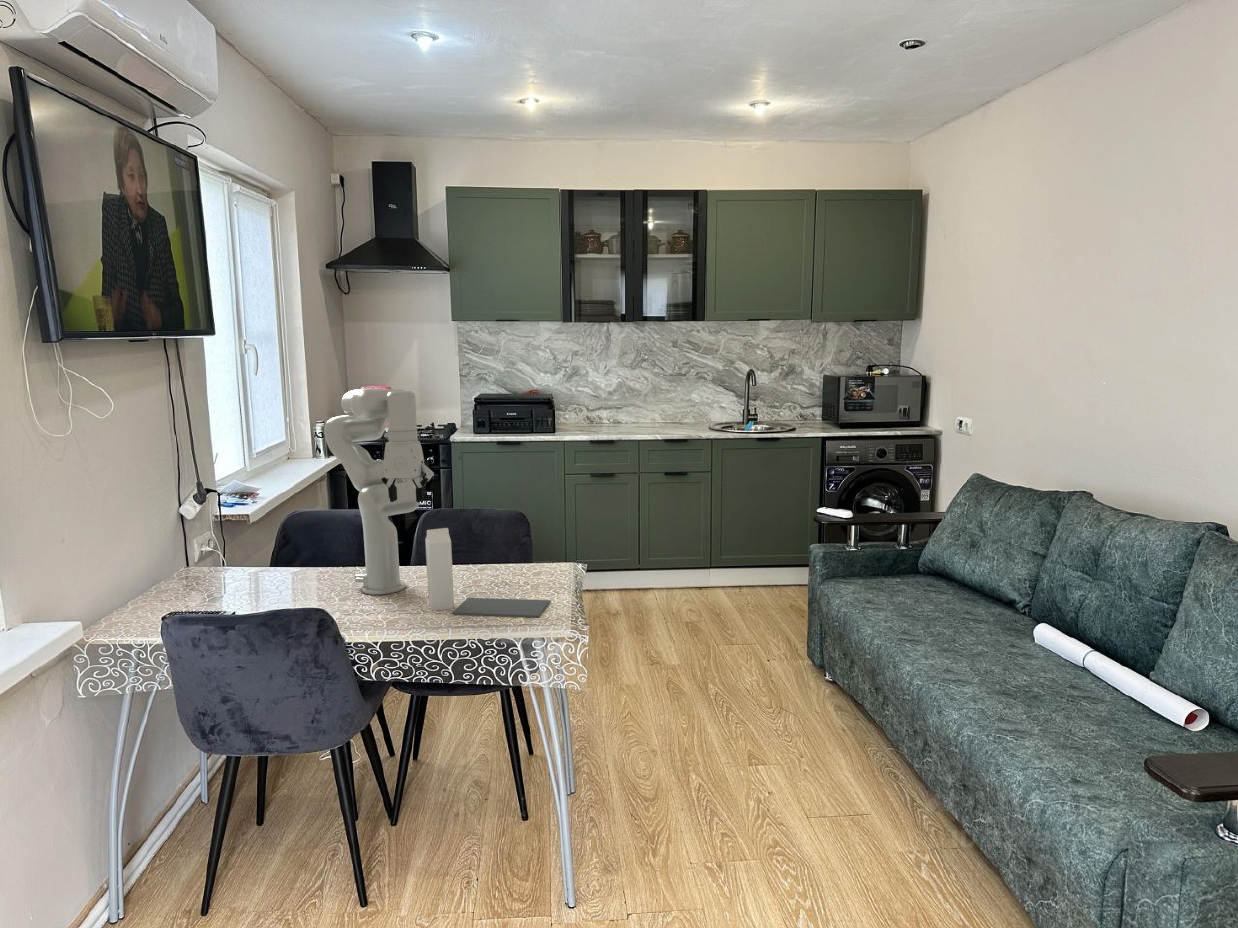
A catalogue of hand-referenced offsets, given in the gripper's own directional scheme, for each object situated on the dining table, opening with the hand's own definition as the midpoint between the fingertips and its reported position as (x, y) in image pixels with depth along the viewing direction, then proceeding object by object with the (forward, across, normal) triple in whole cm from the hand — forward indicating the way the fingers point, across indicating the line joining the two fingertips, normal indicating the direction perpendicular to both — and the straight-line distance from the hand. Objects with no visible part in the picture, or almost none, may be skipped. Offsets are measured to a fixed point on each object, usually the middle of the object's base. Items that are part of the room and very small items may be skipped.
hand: (406, 500), depth 215 cm
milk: (+30, +8, 0) cm, 31 cm away
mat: (+30, +26, 0) cm, 39 cm away
